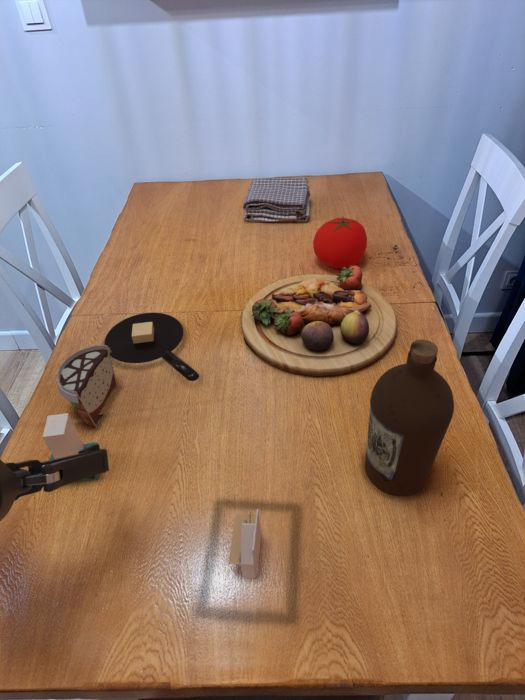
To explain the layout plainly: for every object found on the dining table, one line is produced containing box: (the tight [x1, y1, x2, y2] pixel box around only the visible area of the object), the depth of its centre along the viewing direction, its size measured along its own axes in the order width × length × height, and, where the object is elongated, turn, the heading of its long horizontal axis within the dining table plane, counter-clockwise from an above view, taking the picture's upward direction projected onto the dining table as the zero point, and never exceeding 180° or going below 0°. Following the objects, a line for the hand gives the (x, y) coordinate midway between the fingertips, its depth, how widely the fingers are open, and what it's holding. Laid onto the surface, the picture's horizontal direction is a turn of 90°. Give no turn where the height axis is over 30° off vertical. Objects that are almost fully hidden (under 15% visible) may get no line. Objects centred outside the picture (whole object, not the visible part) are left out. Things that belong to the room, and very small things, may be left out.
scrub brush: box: [42, 412, 100, 483], centre depth 74 cm, size 5×7×11 cm
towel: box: [242, 177, 311, 223], centre depth 139 cm, size 15×18×8 cm
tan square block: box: [132, 322, 154, 344], centre depth 99 cm, size 4×4×2 cm
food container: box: [56, 344, 118, 429], centre depth 84 cm, size 12×6×10 cm, turn 168°
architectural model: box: [228, 508, 262, 579], centre depth 64 cm, size 3×7×7 cm, turn 175°
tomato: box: [312, 216, 368, 270], centre depth 116 cm, size 12×13×11 cm
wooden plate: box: [240, 265, 398, 377], centre depth 100 cm, size 32×32×8 cm
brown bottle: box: [364, 339, 455, 497], centre depth 67 cm, size 11×11×25 cm
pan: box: [103, 312, 200, 382], centre depth 97 cm, size 26×16×2 cm, turn 43°
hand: (45, 461), depth 65 cm, fingers open, 13 cm apart
